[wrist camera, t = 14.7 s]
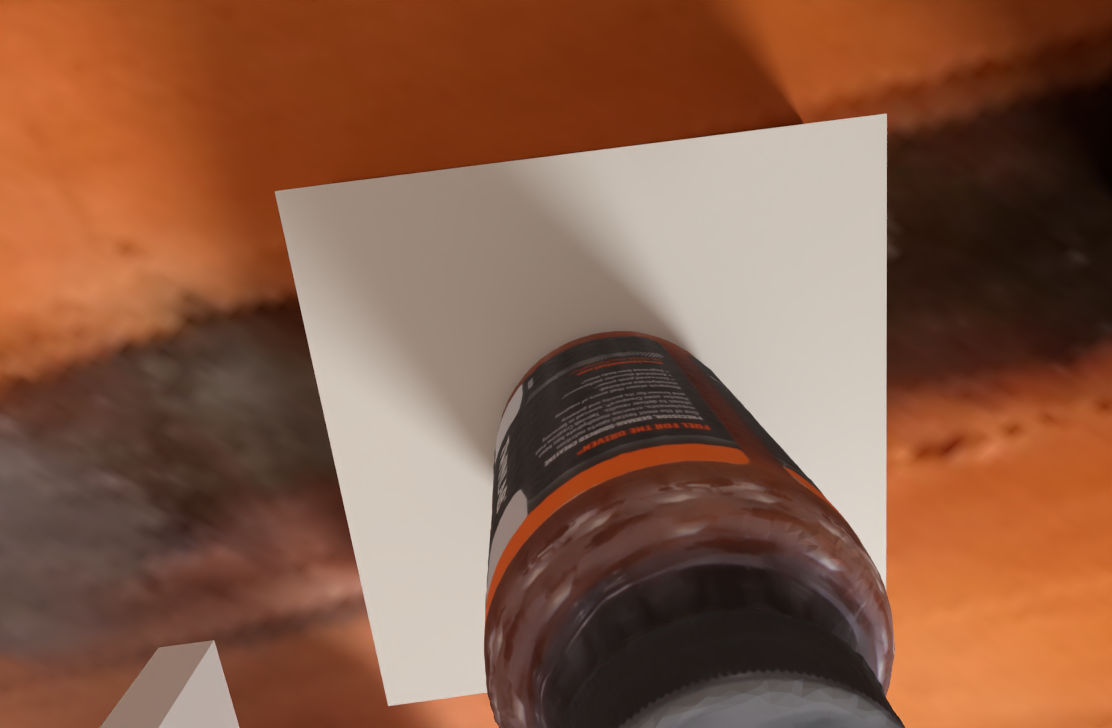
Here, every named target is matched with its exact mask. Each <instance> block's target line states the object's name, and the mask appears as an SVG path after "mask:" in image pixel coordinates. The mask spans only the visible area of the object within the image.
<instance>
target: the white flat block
mask: <svg viewBox="0 0 1112 728" xmlns="http://www.w3.org/2000/svg"><path fill="white" fill-rule="evenodd" d="M275 196H276V200H277V205H278V209H279V214H280V218H281V223H282V227H283V232H284V236H285V241H286V245H287V250H288V254H289V259H290V263H291V268H292V273H293V277H294V282H295V286H296V291H297V295H298V300H299V304H300V309H301V313H302V318H303V322H304V327H305V331H306V336H307V340H308V345H309V350H310V354H311V359H312V363H313V368H314V372H315V377H316V381H317V386H318V390H319V395H320V399H321V404H322V408H323V413H324V418H325V422H326V427H327V431H328V436H329V440H330V445H331V449H332V454H333V458H334V463H335V467H336V472H337V476H338V481H339V485H340V490H341V494H342V499H343V504H344V508H345V513H346V517H347V522H348V526H349V531H350V535H351V540H352V544H353V549H354V553H355V558H356V562H357V567H358V572H359V576H360V581H361V585H362V590H363V594H364V599H365V603H366V608H367V612H368V617H369V621H370V626H371V630H372V635H373V639H374V644H375V649H376V653H377V658H378V662H379V667H380V671H381V676H382V680H383V685H384V689H385V694H386V698H387V703H388V706H393V705H400V704H408V703H415V702H422V701H429V700H437V699H444V698H451V697H458V696H466V695H473V694H480V693H487V686H486V673H485V660H484V629H485V599H486V591H487V573H488V557H489V543H490V529H491V518H492V494H493V493H492V491H493V477H494V473H493V471H494V470H493V466H494V458H495V456H494V452H495V447H496V440H497V435H498V429H499V426H500V422H501V416H502V414H503V411H504V409H505V407H506V404H507V401H508V399H509V397H510V396H511V394H512V392H513V391H514V389H515V387H516V386H517V385H518V383H519V382H520V381H521V379H522V378H523V376H524V375H525V374H526V373H527V372H528V371H529V369H530V368H531V367H532V366H534V365H535V364H536V363H537V362H538V361H539V360H540V359H541V358H543V357H544V356H546V355H547V354H548V353H550V352H551V351H552V350H554V349H556V348H558V347H560V346H562V345H564V344H566V343H568V342H570V341H573V340H576V339H578V338H581V337H585V336H588V335H592V334H597V333H602V332H612V331H632V332H640V333H646V334H649V335H652V336H656V337H659V338H661V339H664V340H667V341H669V342H671V343H673V344H675V345H677V346H679V347H681V348H683V349H684V350H686V351H688V352H689V353H690V354H692V355H693V356H694V357H695V358H697V359H698V360H699V361H700V362H702V363H703V364H704V365H705V366H707V367H708V368H709V369H711V370H712V371H713V373H714V374H715V375H716V376H717V377H718V378H719V379H720V381H721V382H722V383H723V384H724V385H725V386H726V387H727V388H728V389H729V390H730V391H731V392H732V394H733V395H734V396H735V397H736V398H737V399H738V400H739V401H740V402H741V403H742V404H743V405H744V407H745V408H746V409H747V410H748V411H749V412H750V413H751V414H752V415H753V417H754V418H755V419H756V420H757V421H758V422H759V424H760V425H761V426H762V427H763V428H764V429H765V430H766V431H767V433H768V434H769V435H770V436H771V437H772V438H773V439H774V440H775V441H776V442H777V443H778V444H779V445H780V446H781V448H782V449H783V450H784V451H785V452H786V453H787V454H788V456H789V457H790V458H791V459H792V460H793V461H794V462H795V463H796V464H797V465H798V467H799V468H800V469H801V470H802V471H803V472H804V473H805V475H806V476H807V477H808V478H810V479H811V480H812V481H813V483H814V484H815V485H816V486H817V487H818V489H819V490H820V491H821V492H822V494H823V495H824V496H825V497H826V499H827V500H828V501H829V502H830V503H831V504H832V505H833V506H834V507H835V508H836V509H837V510H838V511H839V513H840V514H841V515H842V516H843V517H844V519H845V520H846V521H847V522H848V524H849V525H850V526H851V528H852V529H853V530H854V532H855V533H856V534H857V536H858V537H859V539H860V541H861V543H862V544H863V546H864V548H865V549H866V551H867V552H868V554H869V555H870V557H871V559H872V561H873V562H874V564H875V566H876V568H877V570H878V572H879V573H880V576H881V579H882V581H883V583H884V586H885V589H886V302H887V114H881V115H873V116H864V117H856V118H848V119H840V120H832V121H823V122H815V123H807V124H799V125H791V126H783V127H775V128H767V129H759V130H751V131H744V132H736V133H728V134H720V135H712V136H704V137H696V138H688V139H680V140H672V141H665V142H657V143H649V144H641V145H633V146H625V147H617V148H609V149H601V150H593V151H585V152H578V153H570V154H562V155H554V156H546V157H538V158H530V159H522V160H514V161H506V162H499V163H491V164H483V165H475V166H467V167H459V168H451V169H443V170H435V171H427V172H419V173H412V174H404V175H396V176H388V177H380V178H372V179H364V180H356V181H348V182H340V183H333V184H325V185H317V186H310V187H302V188H295V189H287V190H280V191H275Z"/></svg>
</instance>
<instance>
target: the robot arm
mask: <svg viewBox="0 0 1112 728" xmlns="http://www.w3.org/2000/svg"><path fill="white" fill-rule="evenodd" d="M100 728H239V724H238V721H237V717H236V714H235V711H234V707H233V704H232V700H231V697H230V693H229V690H228V686H227V683H226V679H225V676H224V672H223V669H222V666H221V662H220V659H219V655H218V652H217V648H216V645H215V641H214V640H211V641H204V642H197V643H189V644H182V645H174V646H167V647H159V648H158V649H157V651H156V652H155V653H154V655H153V656H152V657H151V659H150V660H149V661H148V663H147V664H146V665H145V667H144V668H143V670H142V671H141V672H140V674H139V675H138V676H137V678H136V679H135V680H134V682H133V683H132V684H131V686H130V687H129V688H128V690H127V691H126V693H125V694H124V695H123V697H122V698H121V699H120V701H119V702H118V703H117V705H116V706H115V707H114V709H113V710H112V711H111V713H110V714H109V716H108V717H107V718H106V720H105V721H104V722H103V724H102V725H101V726H100Z"/></svg>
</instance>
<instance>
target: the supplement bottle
mask: <svg viewBox="0 0 1112 728" xmlns="http://www.w3.org/2000/svg"><path fill="white" fill-rule="evenodd" d="M494 456H495V458H494V466H493V470H494V471H493V473H494V477H493V491H492V493H493V494H492V518H491V529H490V543H489V557H488V573H487V591H486V599H485V629H484V660H485V673H486V686H487V694H488V697H489V700H490V705H491V708H492V711H493V713H494V719H495V722H496V723H497V724H498V725H499V728H905V727H904V725H903V723H902V722H901V720H900V718H899V717H898V716H897V715H896V713H895V712H894V711H893V709H892V707H891V706H890V704H889V702H888V701H887V699H886V694H887V691H888V688H889V685H890V678H891V672H892V665H893V659H894V651H895V648H894V634H893V623H892V614H891V608H890V604H889V601H888V597H887V593H886V589H885V586H884V583H883V581H882V579H881V576H880V573H879V572H878V570H877V568H876V566H875V564H874V562H873V561H872V559H871V557H870V555H869V554H868V552H867V551H866V549H865V548H864V546H863V544H862V543H861V541H860V539H859V537H858V536H857V534H856V533H855V532H854V530H853V529H852V528H851V526H850V525H849V524H848V522H847V521H846V520H845V519H844V517H843V516H842V515H841V514H840V513H839V511H838V510H837V509H836V508H835V507H834V506H833V505H832V504H831V503H830V502H829V501H828V500H827V499H826V497H825V496H824V495H823V494H822V492H821V491H820V490H819V489H818V487H817V486H816V485H815V484H814V483H813V481H812V480H811V479H810V478H808V477H807V476H806V475H805V473H804V472H803V471H802V470H801V469H800V468H799V467H798V465H797V464H796V463H795V462H794V461H793V460H792V459H791V458H790V457H789V456H788V454H787V453H786V452H785V451H784V450H783V449H782V448H781V446H780V445H779V444H778V443H777V442H776V441H775V440H774V439H773V438H772V437H771V436H770V435H769V434H768V433H767V431H766V430H765V429H764V428H763V427H762V426H761V425H760V424H759V422H758V421H757V420H756V419H755V418H754V417H753V415H752V414H751V413H750V412H749V411H748V410H747V409H746V408H745V407H744V405H743V404H742V403H741V402H740V401H739V400H738V399H737V398H736V397H735V396H734V395H733V394H732V392H731V391H730V390H729V389H728V388H727V387H726V386H725V385H724V384H723V383H722V382H721V381H720V379H719V378H718V377H717V376H716V375H715V374H714V373H713V371H712V370H711V369H709V368H708V367H707V366H705V365H704V364H703V363H702V362H700V361H699V360H698V359H697V358H695V357H694V356H693V355H692V354H690V353H689V352H688V351H686V350H684V349H683V348H681V347H679V346H677V345H675V344H673V343H671V342H669V341H667V340H664V339H661V338H659V337H656V336H652V335H649V334H646V333H640V332H632V331H612V332H602V333H597V334H592V335H588V336H585V337H581V338H578V339H576V340H573V341H570V342H568V343H566V344H564V345H562V346H560V347H558V348H556V349H554V350H552V351H551V352H550V353H548V354H547V355H546V356H544V357H543V358H541V359H540V360H539V361H538V362H537V363H536V364H535V365H534V366H532V367H531V368H530V369H529V371H528V372H527V373H526V374H525V375H524V376H523V378H522V379H521V381H520V382H519V383H518V385H517V386H516V387H515V389H514V391H513V392H512V394H511V396H510V397H509V399H508V401H507V404H506V407H505V409H504V411H503V414H502V416H501V422H500V426H499V429H498V435H497V440H496V447H495V452H494Z"/></svg>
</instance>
